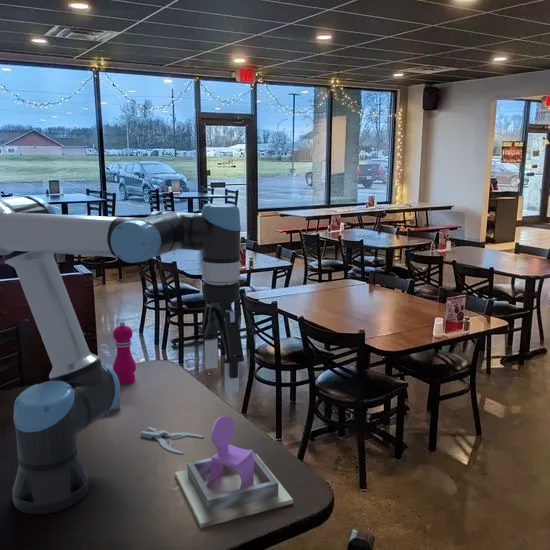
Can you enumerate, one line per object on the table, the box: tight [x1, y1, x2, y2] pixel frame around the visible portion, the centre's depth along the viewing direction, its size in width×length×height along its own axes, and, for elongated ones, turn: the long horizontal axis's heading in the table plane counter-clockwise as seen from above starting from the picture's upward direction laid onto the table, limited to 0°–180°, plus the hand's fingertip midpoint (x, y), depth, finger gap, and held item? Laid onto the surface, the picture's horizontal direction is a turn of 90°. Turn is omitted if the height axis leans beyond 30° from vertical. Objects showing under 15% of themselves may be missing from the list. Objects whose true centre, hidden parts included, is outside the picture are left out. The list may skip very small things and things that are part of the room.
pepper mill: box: [112, 320, 137, 385], centre depth 181 cm, size 7×7×20 cm
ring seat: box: [174, 448, 294, 529], centre depth 123 cm, size 20×20×4 cm
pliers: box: [140, 426, 204, 455], centre depth 145 cm, size 10×2×15 cm
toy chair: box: [206, 416, 254, 489], centre depth 122 cm, size 8×9×15 cm
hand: (220, 379), depth 119 cm, fingers open, 13 cm apart
